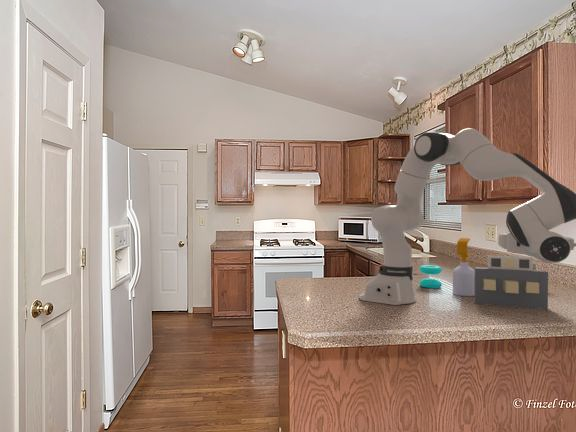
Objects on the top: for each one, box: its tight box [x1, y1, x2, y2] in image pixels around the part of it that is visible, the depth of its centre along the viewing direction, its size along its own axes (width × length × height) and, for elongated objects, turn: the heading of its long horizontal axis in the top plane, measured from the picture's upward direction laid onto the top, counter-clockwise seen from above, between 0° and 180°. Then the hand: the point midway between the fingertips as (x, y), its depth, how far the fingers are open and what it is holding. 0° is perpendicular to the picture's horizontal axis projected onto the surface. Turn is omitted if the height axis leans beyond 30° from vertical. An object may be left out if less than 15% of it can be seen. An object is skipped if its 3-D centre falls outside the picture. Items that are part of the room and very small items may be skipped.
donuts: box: [419, 264, 443, 289], centre depth 177 cm, size 10×10×10 cm
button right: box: [525, 281, 539, 294], centre depth 139 cm, size 4×7×4 cm, turn 158°
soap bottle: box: [452, 237, 475, 297], centre depth 160 cm, size 9×9×25 cm
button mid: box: [503, 279, 519, 294], centre depth 139 cm, size 4×7×4 cm, turn 157°
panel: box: [473, 255, 549, 310], centre depth 141 cm, size 24×3×19 cm, turn 68°
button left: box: [483, 278, 496, 290], centre depth 144 cm, size 4×7×4 cm, turn 157°
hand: (529, 239), depth 124 cm, fingers closed
